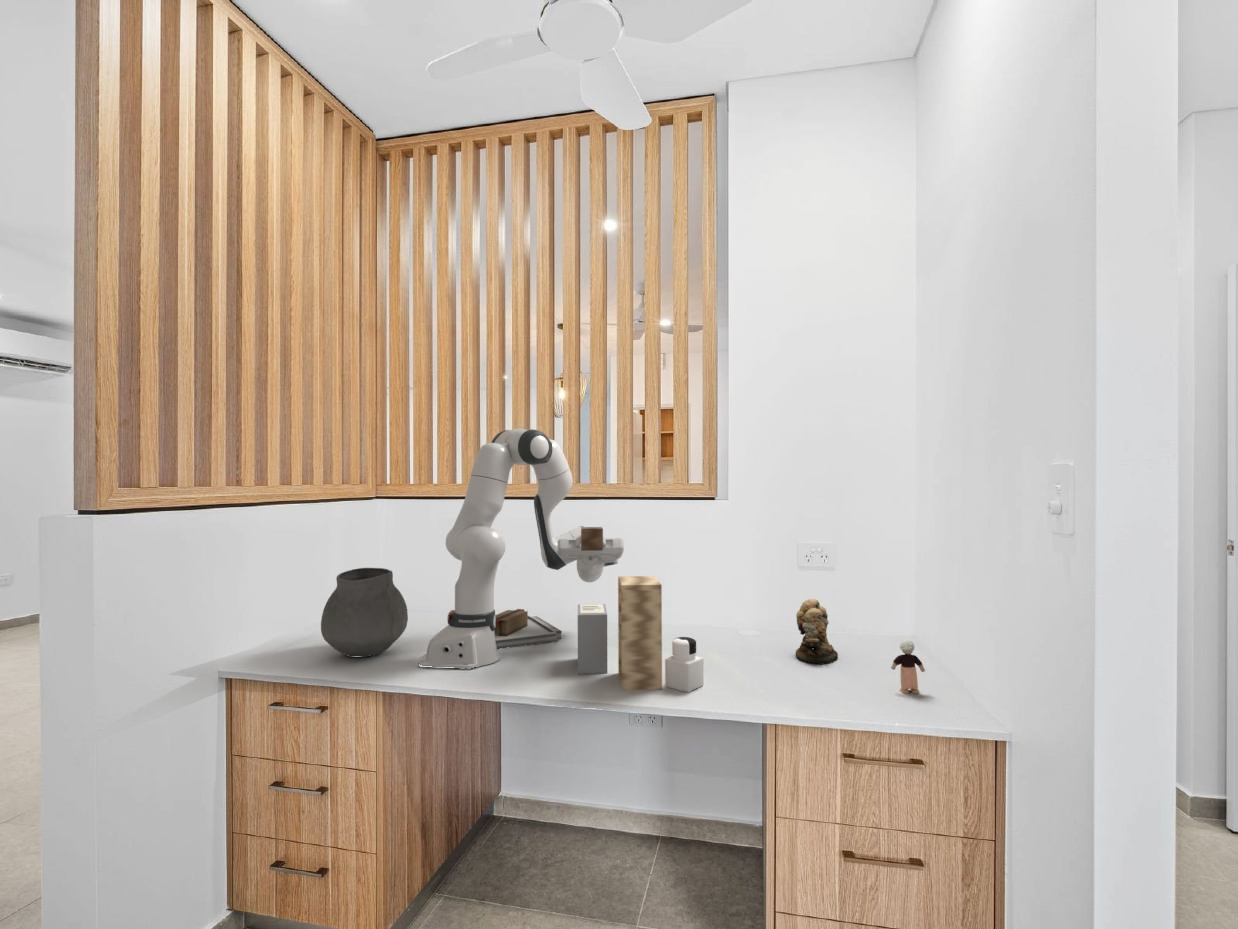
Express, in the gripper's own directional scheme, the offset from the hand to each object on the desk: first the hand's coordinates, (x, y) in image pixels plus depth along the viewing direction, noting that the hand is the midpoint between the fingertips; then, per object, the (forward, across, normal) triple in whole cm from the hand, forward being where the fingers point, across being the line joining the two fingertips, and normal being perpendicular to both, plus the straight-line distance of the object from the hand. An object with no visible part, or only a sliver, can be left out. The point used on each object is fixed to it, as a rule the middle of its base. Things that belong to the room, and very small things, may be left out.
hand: (591, 536), depth 188 cm
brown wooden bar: (+3, 0, +5) cm, 6 cm away
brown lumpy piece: (-12, +66, +34) cm, 75 cm away
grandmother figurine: (+15, +77, +49) cm, 93 cm away
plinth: (-9, 0, +36) cm, 37 cm away
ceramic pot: (-24, -68, +27) cm, 77 cm away
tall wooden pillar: (+3, +12, +43) cm, 44 cm away
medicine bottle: (+8, +23, +45) cm, 51 cm away
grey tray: (-41, -28, +18) cm, 53 cm away
